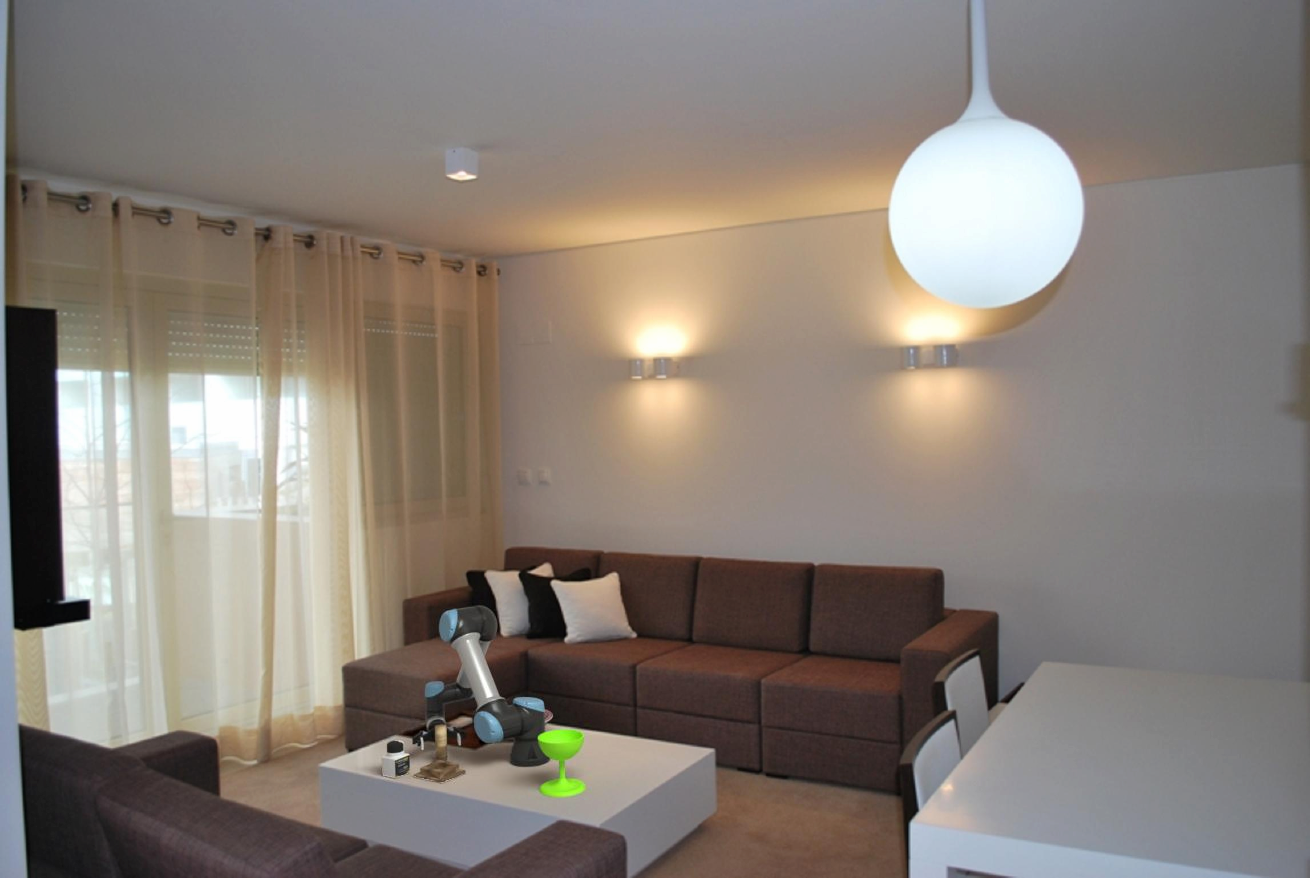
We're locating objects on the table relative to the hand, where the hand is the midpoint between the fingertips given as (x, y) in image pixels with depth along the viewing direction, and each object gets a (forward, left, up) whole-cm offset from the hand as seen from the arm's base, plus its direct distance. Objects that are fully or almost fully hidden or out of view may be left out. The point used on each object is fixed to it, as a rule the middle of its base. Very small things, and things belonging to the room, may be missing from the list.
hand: (441, 744), depth 360 cm
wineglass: (-55, -2, -8) cm, 56 cm away
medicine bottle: (+8, +15, -8) cm, 19 cm away
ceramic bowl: (-2, -41, -8) cm, 41 cm away
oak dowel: (+2, -2, -8) cm, 8 cm away
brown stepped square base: (-7, +8, -8) cm, 14 cm away
